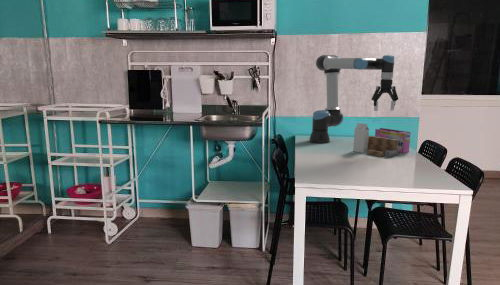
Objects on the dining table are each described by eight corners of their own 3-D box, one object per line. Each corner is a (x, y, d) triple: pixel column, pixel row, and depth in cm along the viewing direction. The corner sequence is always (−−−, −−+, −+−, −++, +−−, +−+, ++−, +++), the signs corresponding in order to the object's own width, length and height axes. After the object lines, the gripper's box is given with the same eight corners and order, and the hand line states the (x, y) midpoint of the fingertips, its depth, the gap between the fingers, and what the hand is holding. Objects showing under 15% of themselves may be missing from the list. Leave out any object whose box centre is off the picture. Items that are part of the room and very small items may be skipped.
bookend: (384, 157, 248) (385, 151, 248) (392, 154, 256) (393, 148, 255) (388, 157, 247) (389, 151, 246) (396, 155, 254) (396, 149, 253)
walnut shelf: (354, 151, 263) (355, 137, 261) (363, 149, 271) (364, 135, 269) (387, 158, 246) (389, 142, 244) (397, 155, 254) (398, 140, 253)
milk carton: (357, 149, 269) (359, 122, 266) (367, 151, 265) (369, 123, 261) (353, 151, 264) (354, 123, 260) (363, 153, 259) (365, 124, 256)
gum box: (371, 147, 279) (373, 128, 276) (378, 146, 284) (379, 127, 281) (403, 153, 261) (405, 133, 258) (409, 151, 266) (411, 132, 263)
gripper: (374, 79, 254) (372, 111, 258) (405, 79, 263) (402, 110, 267) (367, 78, 261) (365, 110, 265) (398, 78, 269) (395, 109, 274)
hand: (383, 110), depth 266 cm, fingers open, 13 cm apart
